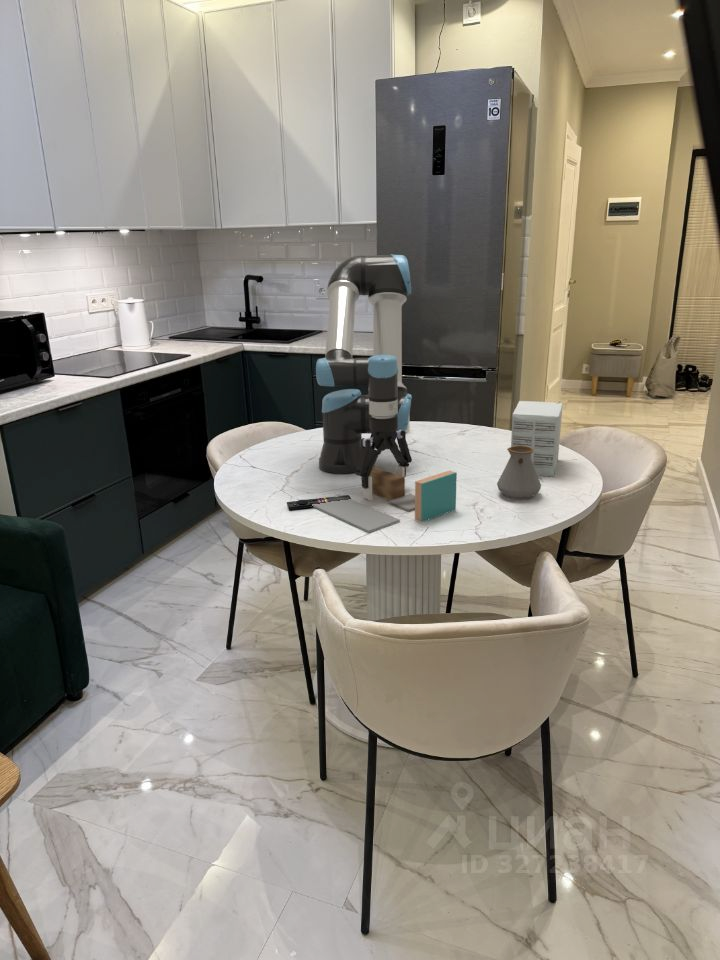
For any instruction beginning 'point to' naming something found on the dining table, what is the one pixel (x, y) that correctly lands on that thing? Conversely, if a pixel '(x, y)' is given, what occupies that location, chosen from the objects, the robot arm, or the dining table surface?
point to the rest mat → (357, 514)
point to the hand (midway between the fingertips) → (384, 493)
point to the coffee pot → (519, 475)
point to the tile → (435, 495)
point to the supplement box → (538, 433)
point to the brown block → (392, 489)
